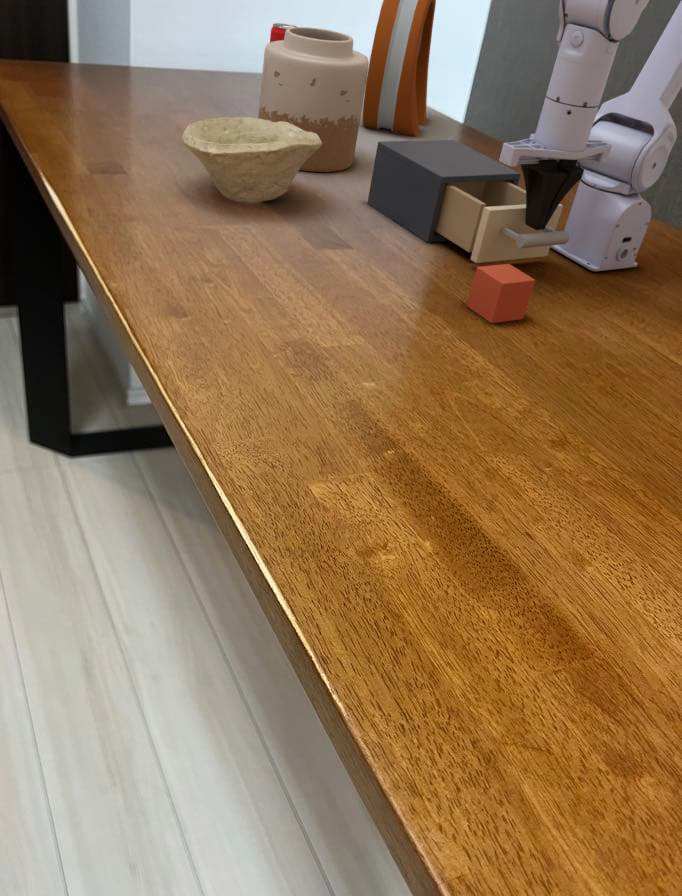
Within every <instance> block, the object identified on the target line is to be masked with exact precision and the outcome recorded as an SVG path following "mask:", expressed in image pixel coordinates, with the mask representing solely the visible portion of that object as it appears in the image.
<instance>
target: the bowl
mask: <svg viewBox="0 0 682 896" xmlns="http://www.w3.org/2000/svg"><path fill="white" fill-rule="evenodd" d="M181 143H182V144H183V145H184V146H185V147H186V148H187V149H188V150H189V151H190V152H191V153H192V154H193V155H194V156H195V157H196V158H198V160H199V161H200V163H201V165H202V166H203V167H204V169H205V170H206V171H207V173H208V176H209V177H210V178H211V180H212V182H213V184H214V185H215V187H216V189H217V190H218V192H220V193H221V195H222V196H224V197H225V198H227V199H229V200H231V201H233V202H235V203H239V204H243V205H251V204H259V203H262V202H267V201H273V200H276V199H278V198H279V197H281V196H283V195H285V194H286V193H287V192H288V191H289V190H290V188H291V187H292V185H293V182H294V179H295V177H296V176H297V174H298V173H299V171H300V170H299V169H300V168H301V166H302V165H303V163H304V162H305V161H306V160H307V159H308V158H309V157H310V156H311V155H312V154H313V153H314V152H315V151H316V150H318V149H319V148H320V147H321V145H322V142H321V140H320V138H319V136H318V135H317V134H316V133H313V132H307V131H304V130H302V129H300V128H298V127H296V126H295V125H292V124H290V123H288V122H284V121H279V122H272V121H269V120H264V119H259V118H258V117H253V116H252V117H251V116H234V117H233V116H231V117H229V116H223V117H215V118H207V119H202V120H197V121H194V122H191V123H190V124H188V126H187V127H186V128H185V129H184V132H183V133H182V136H181Z"/></svg>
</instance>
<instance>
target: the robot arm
mask: <svg viewBox="0 0 682 896" xmlns="http://www.w3.org/2000/svg"><path fill="white" fill-rule="evenodd" d="M648 3H650V0H559V4H558V21H559V25H558V26H559V27H558V32H557V35H556V39H555V40H556V46H557V47H558V52H557V55H556V59H555V62H554V64H553V65H554V66H553V69H552V73H551V76H550V80H549V84H548V87H547V90H546V95H545V98H544V102H543V105H542V108H541V112H540V115H539V119H538V123H537V127H536V130H535V133H530V135H529V138H525V139H521V140H517V141H511V142H503V143H502V147H501V152H500V155H499V159H498V162H499V163H501V164H503V165H505V166H507V167H509V168H512V167H515V168H516V167H517V166H518V165H520V167H521V171H522V175H523V180H524V186H525V191H526V219H525V224H526V225H528V226H529V227H531V228H533V229H535V230H542V229H544V228H545V227H546V225H547V223H548V222H549V220H550V218H551V217H552V215H553V213H554V212H555V210H556V208H557V207H558V205H559V204H561V202H562V201H563V199H564V198H565V197H566V195H567V194H568V193H569V192H570V191H571V190H572V189H573V188H574V186H575V185H577V183H578V186H577V189H576V192H575V195H574V199H573V201H572V204H571V208H570V210H569V214H568V216H567V219H566V223H565V226H564V229H563V231H567V232H568V233H569V241H568V242H567V243H566V244H561V245H551V246H550V249H552V250H554V251H555V252H557V253H559V254H561V255H563V257H564V256H565V257H566V258H568V259H570V260H572V262H573V261H574V262H575V263H577V264H579V265H580V266H582V267H584V268H586V269H588V270H589V271H591V272H603V271H612V270H622V269H631V268H636V267H638V262H636V258H637V256H638V253H639V251H640V248H641V245H642V244H643V240H644V238H645V235H646V232H647V231H648V228H649V225H650V223H651V219H652V207H651V204H649V202H648V201H646V200H645V199H643V198H642V196H641V193H642V192H643V193H644V192H645V191H646V190H648V189H649V188H651V187H652V186H653V185H655V183H656V182H657V181H658V180H659V178H660V177H661V176H662V174H663V171H664V169H665V168H666V165H667V162H668V160H669V156H670V154H671V151H672V149H673V147H674V146H675V143H676V141H677V139H678V131H677V127H676V124H675V122H674V120H673V118H672V115H671V113H670V111H669V109H670V107H671V106H672V104H673V102H674V101H675V99H676V98H677V95H678V93H680V90H681V89H682V0H680V2H679V4H678V5H677V7H676V9H675V11H674V13H673V14H672V16H671V18H670V20H669V21H668V23H667V24H666V27H665V28H664V29H663V32H662V34H661V35H660V37H659V38H658V41H657V42H656V44H655V46H654V48H653V50H652V51H651V53H650V55H649V57H648V58H647V60H646V62H645V63H644V65H643V67H642V69H641V70H640V72H639V74H638V76H637V78H636V80H635V81H634V83H633V85H632V86H631V88H630V90H629V91H627V92H626V93H623V94H621V95H618V96H616V97H614V98H611V99H609V100H607V101H605V102H603V103H602V104H601V100H602V97H603V95H604V91H605V88H606V85H607V82H608V79H609V75H610V73H611V69H612V66H613V63H614V61H615V57H616V54H617V51H618V49H619V44H620V41H621V40H622V39H624V38H626V37H627V36H629V35H630V34H631V33H632V31H633V30H634V28H635V26H636V25H637V23H638V22H639V19H640V17H641V15H642V13H643V11H644V10H645V9H646V8H647V6H648ZM600 104H601V106H600ZM599 107H600V108H599Z"/></svg>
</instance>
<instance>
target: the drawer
mask: <svg viewBox="0 0 682 896" xmlns="http://www.w3.org/2000/svg"><path fill="white" fill-rule="evenodd" d="M563 207H564V205H563V204H561V203H560V204H559V205H558V207H557V208H556V210H555V212H554V213H553V215H552V217H551V218H550V220H549V222H548V223H547V225H546V227H545V228H544V229H542V230H535V229H533V228H531V227H529V226H528V225H526V224H525V219H526V189H523V188H522V187H520V186H516V185H514V184H512V183H510V182H508V181H506V180H503V181H482V182H461V183H445V188H444V192H443V197H442V201H441V205H440V210H439V214H438V218H437V223H436V227H435V231H436V232H437V233H439V234H441V235H442V236H444V237H445V238H447V239H449V240H450V241H449V242H452V243H453V244H455V245H456V246H458V247H460V248H461V249H463V250H464V251H466V252H468V253H471V254H470V261H471V262H474V263H475V264H482V263H492V262H502V261H512V260H514V261H515V260H522V259H523V260H524V259H532V258H533V259H534V258H544V257H548V255H549V252H550V249H551V248H550V246H551V245H561V244H566V243H567V242H568V241H569V233H568V232H567V231H564V230H558V231H557V226H558V224H559V220H560V217H561V215H562V211H563Z"/></svg>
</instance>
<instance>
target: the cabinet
mask: <svg viewBox="0 0 682 896" xmlns="http://www.w3.org/2000/svg"><path fill="white" fill-rule="evenodd" d="M520 179H521V173H520V172H519V171H516V170H514V169H512V167H510V166H508V165H506V164H504V163H502V162H500V161H497V160H495V159H493V158H490V157H489V156H487V155H485V154H482V153H480V152H478V151H476V150H474V149H473V148H471V147H468V146H466V145H464V144H462V143H460V142H458V141H457V140H454V139H436V140H435V139H431V140H429V139H427V140H389V141H388V140H387V141H385V140H384V141H382V140H381V141H378V142H377V146H376V151H375V157H374V162H373V169H372V174H371V179H370V186H369V191H368V197H367V204H368V205H369V206H371V207H372V208H374V209H375V210H377V211H379V213H381V214H383V215H384V216H386V217H387V218H389V219H390V220H391V221H393V222H395V223H396V224H398V225H400V226H401V227H403V228H404V229H406V230H407V231H408V232H410V233H412V234H414V235H415V236H417V237H418V238H420V239H421V240H422V241H424V242H426V243H428V244H429V243H438V242H439V243H440V242H451V241H450V240H449V239H447V238H445V237H444V236H442V235H441V234H439V233H437V232H436V231H435V227H436V223H437V218H438V214H439V210H440V205H441V201H442V197H443V192H444V188H445V183H461V182H482V181H503V180H506V181H508V182H510V183H512V184H514V185H516V186H518V185H519V182H520ZM518 187H519V186H518Z"/></svg>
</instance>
